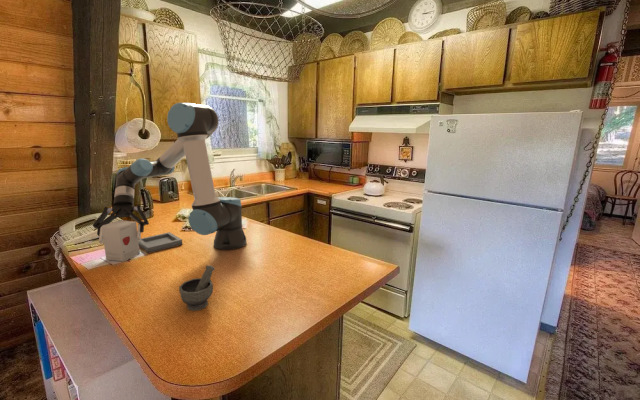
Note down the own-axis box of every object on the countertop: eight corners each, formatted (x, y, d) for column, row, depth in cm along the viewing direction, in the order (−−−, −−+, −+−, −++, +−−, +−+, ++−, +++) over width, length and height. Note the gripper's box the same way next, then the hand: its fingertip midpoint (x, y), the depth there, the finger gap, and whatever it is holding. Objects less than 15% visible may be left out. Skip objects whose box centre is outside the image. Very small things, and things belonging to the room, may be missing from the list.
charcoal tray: (182, 244, 144) (182, 239, 143) (148, 253, 133) (147, 247, 132) (170, 236, 154) (169, 232, 153) (137, 244, 143) (136, 239, 142)
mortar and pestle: (189, 318, 88) (186, 280, 85) (175, 305, 94) (171, 270, 91) (223, 302, 96) (221, 268, 93) (208, 292, 102) (206, 259, 99)
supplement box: (123, 262, 124) (118, 227, 120) (105, 259, 126) (100, 225, 122) (140, 253, 132) (136, 221, 129) (123, 251, 134) (119, 219, 131)
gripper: (156, 201, 143) (155, 241, 133) (94, 204, 134) (87, 247, 124) (153, 192, 137) (152, 233, 127) (88, 195, 128) (80, 240, 118)
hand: (120, 240), depth 126 cm, fingers open, 13 cm apart
